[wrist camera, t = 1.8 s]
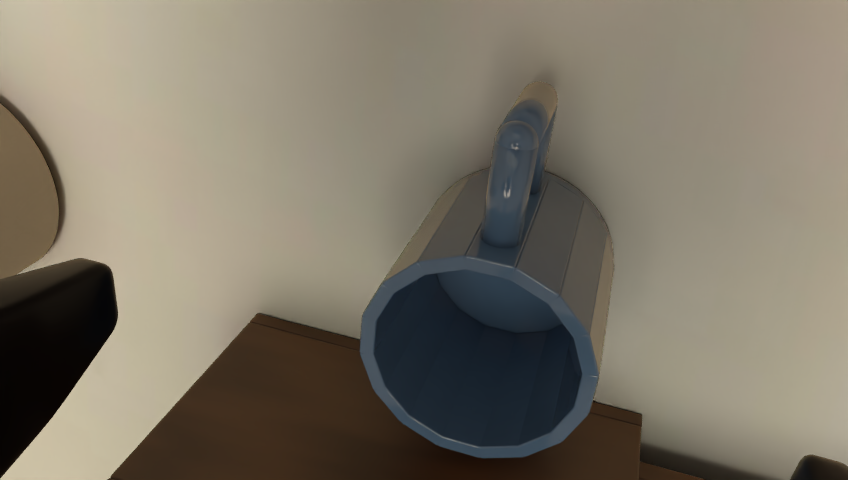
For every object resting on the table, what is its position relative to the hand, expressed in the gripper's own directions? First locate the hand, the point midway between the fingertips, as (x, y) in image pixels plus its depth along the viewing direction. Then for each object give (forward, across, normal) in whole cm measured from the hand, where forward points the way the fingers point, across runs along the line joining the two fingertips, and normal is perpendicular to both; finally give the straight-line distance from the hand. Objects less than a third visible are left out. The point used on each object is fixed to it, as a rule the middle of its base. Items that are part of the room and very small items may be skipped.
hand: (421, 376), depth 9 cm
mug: (+13, 0, +4) cm, 14 cm away
